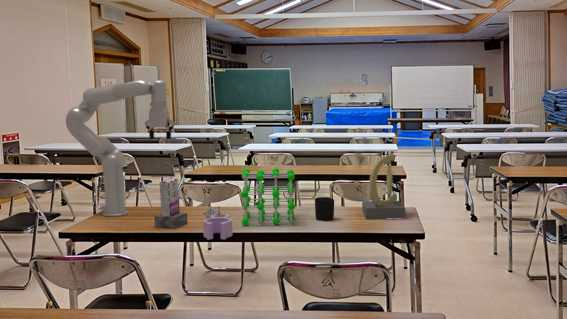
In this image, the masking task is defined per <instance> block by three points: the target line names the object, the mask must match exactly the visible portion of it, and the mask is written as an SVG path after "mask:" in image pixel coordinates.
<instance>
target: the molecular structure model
mask: <svg viewBox="0 0 567 319" xmlns="http://www.w3.org/2000/svg"><path fill="white" fill-rule="evenodd" d="M295 176H296V175H295V172H294V170H292V169H290V168H289V169H288V170H283V171H282V170H281V171H280V169H279V168H278V167H274V168H273V169H272V170H271V171H264V170H263V169H259V170H258V171H251V169H249V168H247V167H246V168H244V169H243V171H242V173H241V178H242V180H243V181H244V183H243V185H244V186H243V187H242V191H241V192H240V197H241V198H243V202H242V204H241V205H242V208H243V210H244V214H243V215H242V216H243V218H242V220H241V225H242V226H245V227H246V226H248V225H249V224H260V225H262V224H268V223H270V224H273V225H274V226H279V225H280V224H281V223H282V224H284V223H289V224H291V225H292V224H293V223H294V221H295V219H296V218H295V216H294V214H295V211H294V209H296V205H295V199H294V198H293V197H292V196H293V195H294V193H295V189H294V184H293V183H292V182H293V181H294V180H295V178H296V177H295ZM248 179H256V181H258V182H259V183H258V185H257V186H250V185H249V184H248V183H249V182H248V181H249V180H248ZM264 179H273V180H274V185H272V186H271V185H269V186H268V185H267V186H266V185H265V184H264V183H263V180H264ZM278 179H287V180H288V181H289V182H288V183H287V184H286V185H278V184H277V182H278ZM264 195H265V196H266V195H267V196H269V195H270V196H271V195H272V198H264V197H263V196H264ZM281 195H289V196H288V197H286V198H285V197H283V198H282V197H280V196H281ZM250 196H259V198H251V197H250ZM251 203H253V204H251ZM254 203H256V204H254ZM265 203H272V204H265ZM280 203H287V204H280ZM269 208H271V209H272V208H273V209H274V211H273V212H266V210H264V209H269ZM279 208H280V209H282V208H288V209H287V211H286V212H284V211H283V212H279V211H278V209H279ZM249 209H257V210H258V212H251V211H249ZM286 214H287V215H286ZM267 217H268V218H267ZM280 217H283V218H280Z"/></svg>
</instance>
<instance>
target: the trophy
mask: <svg viewBox="0 0 567 319" xmlns="http://www.w3.org/2000/svg"><path fill="white" fill-rule="evenodd" d="M396 157H397V154H393V153H392V154H387V155H383V156H382V157H380V158H379V159H378V160H377V161H376V162H375V163H374V165H373V167H372V169H371V172H370V175H369V184H368V186H369V194H370V199H371V200H362V201H361V202H362V203H361V204H362V205H361V206H362V208H361V210H362V213H363V217H364V218H365V220H388V219H387V218H405V219H406V206H404V205H403V204H402V202H401V201H400V200H397V199H398V196H397V193H393V191H392V190H393V168H392V165H391V162H392V161H393V162H395V160H396ZM387 162H388V165H387V169H386V189H387V194H388V198H387V199H385V200H384V199H383V200H382V199H381V198H380V197H379V194H378V188H377V187H378V186H377V180H378V174H379V171H380V169H381V168H382V166H383V165H384V164H386V163H387ZM392 193H393V195H392ZM381 218H382V219H381Z"/></svg>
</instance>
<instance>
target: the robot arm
mask: <svg viewBox="0 0 567 319" xmlns="http://www.w3.org/2000/svg"><path fill="white" fill-rule="evenodd" d="M148 95H149V96H150V98H151V99H150V100H151V101H150V102H149V106H150V108H149V112H148V120H146V121H145V122H144V125H145V128H146V129H147V130H148V133H149V134H148V135H149V139H150V140H153V139H155V128H157V129H160V128H161V129H162V128H164V129H165V130H166V131H165V134H166V135H165V136H166V137H165V139H166V140H171V138H172V131H173V129H174V128H175V125H176V122H175V121H173V120H172V119H170V111H169V108H168V107H167V83H166V82H165V80H151V81H150V80H143V79H139V80H134V81H128V82H123V83H114V84H109V85H103V86H97V87H92V88H88V89H86V90H84V92H83V94H82V101H81V102H80V103H79V105H78V106H74V107H72V108H71V109H69V111H67V113H66V117H65V125H66V129H67V130H68V132H69V134H70V135H71V136H72V137H73V138H74V139H75V140H76V141H77V142H78V143H80V145H81V146H82V147H83V148H84V149H86V151H88V152H89V154H91V156H94V157H99V158H100V159H101V160H102V162H101V163H102V164H101V165H102V172H103V181H104V182H103V184H104V202H105V204H104V205H101V206H100V207H99V210H101V211H103V212H102V216H103V217H123V216H126V215H128V214H129V210H127V209H125V208H126V207H125V205H126V204H125V203H126V201H125V184H124V171H123V167H124V166H125V165H126V161H127V160H126V157H125V155H124V154H123V152H122V151H121V150H120V149H119V148H118V147H117V146H116V145H114V144H113V143H112V141H110V140H109V139H108V138H106V137H104V136H98V135H97V134H96V133H95V132H94V131H93V130H92V129H91V128H90V127H89V126H87V125H86V124H85V123H87V122H89V120H90V119H91V118H92V117H93V115H94V114H95V113H96V111H97V110H98V108H100V106H101V105H103V104H109V103H113V102H119V101H122V100H124V99H129V98H134V97H140V96H148Z"/></svg>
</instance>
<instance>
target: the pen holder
mask: <svg viewBox="0 0 567 319" xmlns="http://www.w3.org/2000/svg"><path fill="white" fill-rule="evenodd" d="M314 211H315V212H314V213H315V219H316V220H317V221H320V222H328V221H333V220H334V218H335V199H334V198H332V197H330V196H320V197H315V198H314Z"/></svg>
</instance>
